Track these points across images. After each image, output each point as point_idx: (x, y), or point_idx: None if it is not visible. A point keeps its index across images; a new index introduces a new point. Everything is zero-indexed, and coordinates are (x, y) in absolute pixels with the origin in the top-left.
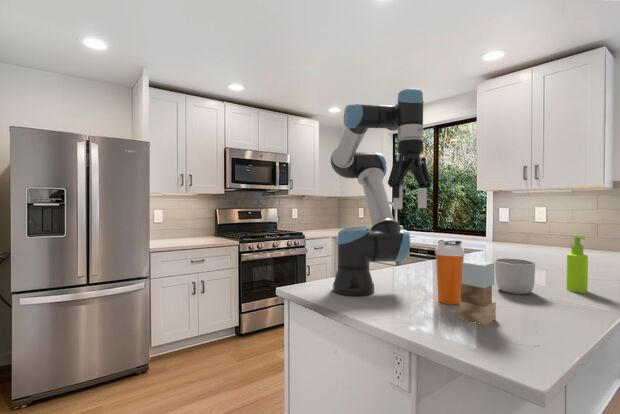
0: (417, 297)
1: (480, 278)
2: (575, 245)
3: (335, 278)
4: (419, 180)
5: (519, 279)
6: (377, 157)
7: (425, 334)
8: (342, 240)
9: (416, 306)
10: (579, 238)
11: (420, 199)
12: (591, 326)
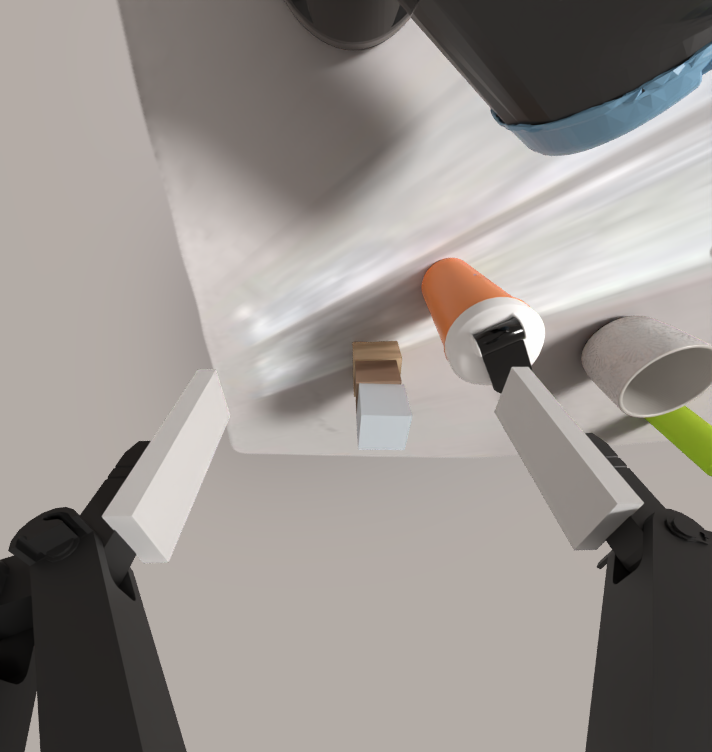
0: (432, 205)
1: (357, 423)
2: None
3: None
4: (626, 632)
5: (595, 380)
6: None
7: (242, 339)
8: None
9: (359, 248)
10: None
11: (534, 428)
12: (447, 448)
